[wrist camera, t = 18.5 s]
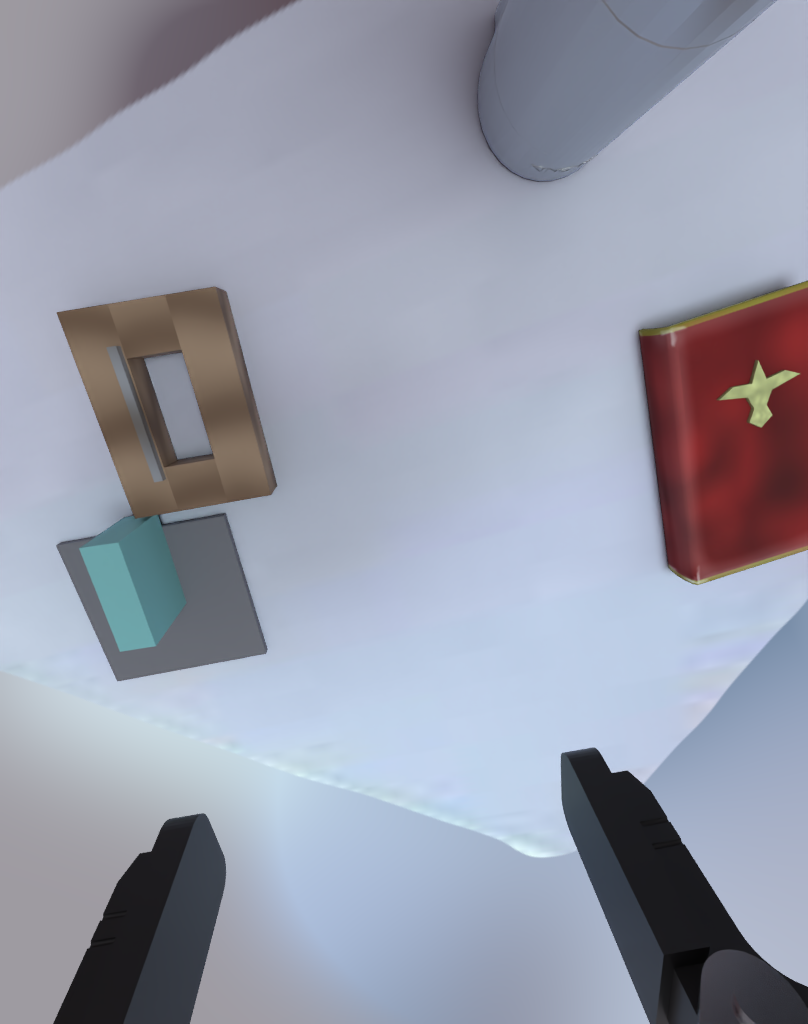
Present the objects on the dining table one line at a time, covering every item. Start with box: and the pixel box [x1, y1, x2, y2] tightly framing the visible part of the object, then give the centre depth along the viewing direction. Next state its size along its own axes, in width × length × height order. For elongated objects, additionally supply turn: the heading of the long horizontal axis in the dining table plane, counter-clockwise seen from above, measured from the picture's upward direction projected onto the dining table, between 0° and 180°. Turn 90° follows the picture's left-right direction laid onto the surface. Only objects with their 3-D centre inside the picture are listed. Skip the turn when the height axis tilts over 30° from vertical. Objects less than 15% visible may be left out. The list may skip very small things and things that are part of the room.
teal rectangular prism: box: [79, 515, 187, 652], centre depth 34 cm, size 6×2×8 cm
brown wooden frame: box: [57, 287, 277, 519], centre depth 32 cm, size 14×10×3 cm
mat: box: [57, 514, 267, 681], centre depth 38 cm, size 13×13×1 cm
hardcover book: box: [639, 281, 808, 585], centre depth 37 cm, size 12×21×4 cm, turn 18°
